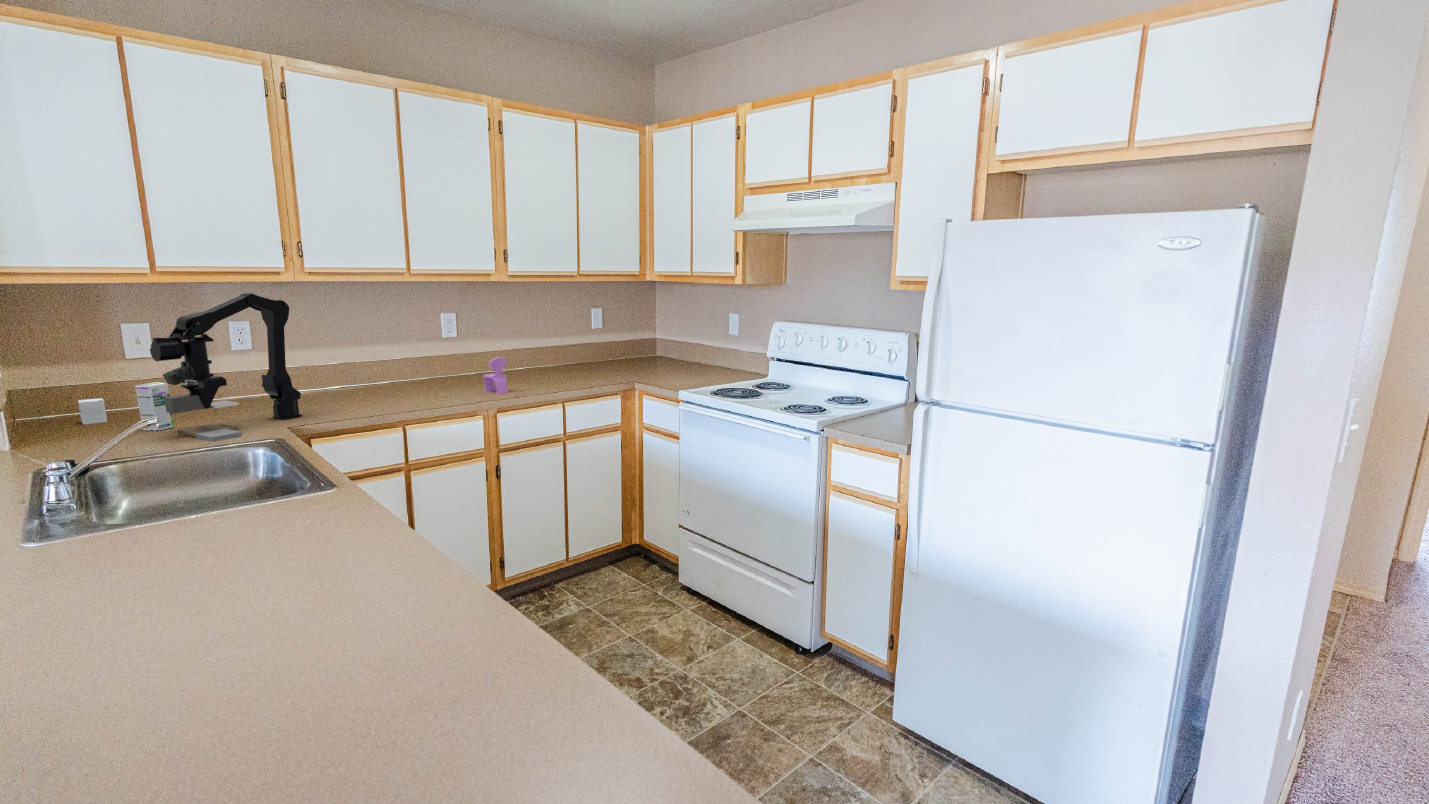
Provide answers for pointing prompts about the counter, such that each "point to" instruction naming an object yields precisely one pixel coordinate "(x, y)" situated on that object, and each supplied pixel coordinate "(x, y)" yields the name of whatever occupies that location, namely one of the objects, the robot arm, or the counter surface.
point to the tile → (218, 435)
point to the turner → (191, 403)
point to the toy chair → (496, 377)
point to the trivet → (205, 429)
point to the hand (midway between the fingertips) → (203, 407)
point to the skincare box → (92, 411)
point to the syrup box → (154, 404)
